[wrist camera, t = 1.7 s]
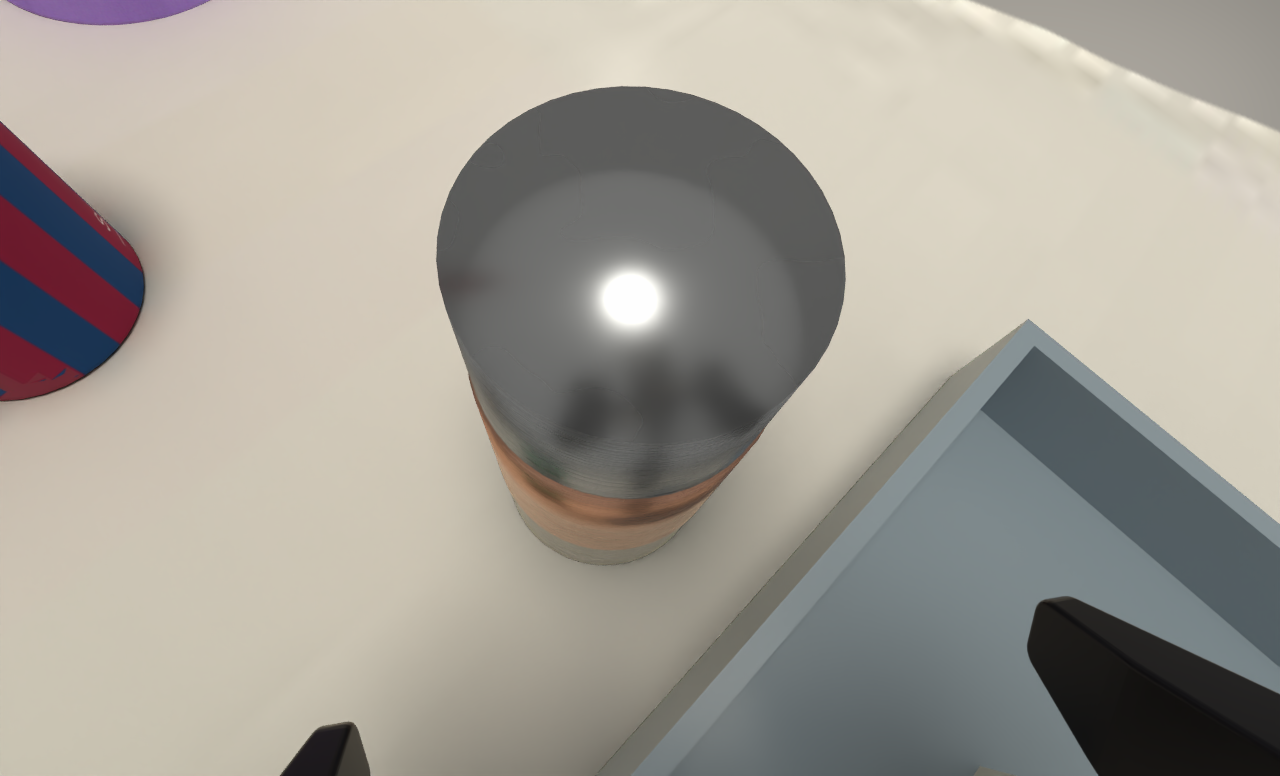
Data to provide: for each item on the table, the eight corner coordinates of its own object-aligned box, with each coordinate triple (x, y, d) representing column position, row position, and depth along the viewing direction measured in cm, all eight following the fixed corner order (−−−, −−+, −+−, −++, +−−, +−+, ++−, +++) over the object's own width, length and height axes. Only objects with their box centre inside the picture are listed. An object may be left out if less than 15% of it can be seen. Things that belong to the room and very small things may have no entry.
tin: (739, 471, 23) (928, 260, 11) (603, 610, 21) (648, 544, 9) (607, 344, 24) (644, 25, 12) (467, 465, 22) (342, 232, 10)
